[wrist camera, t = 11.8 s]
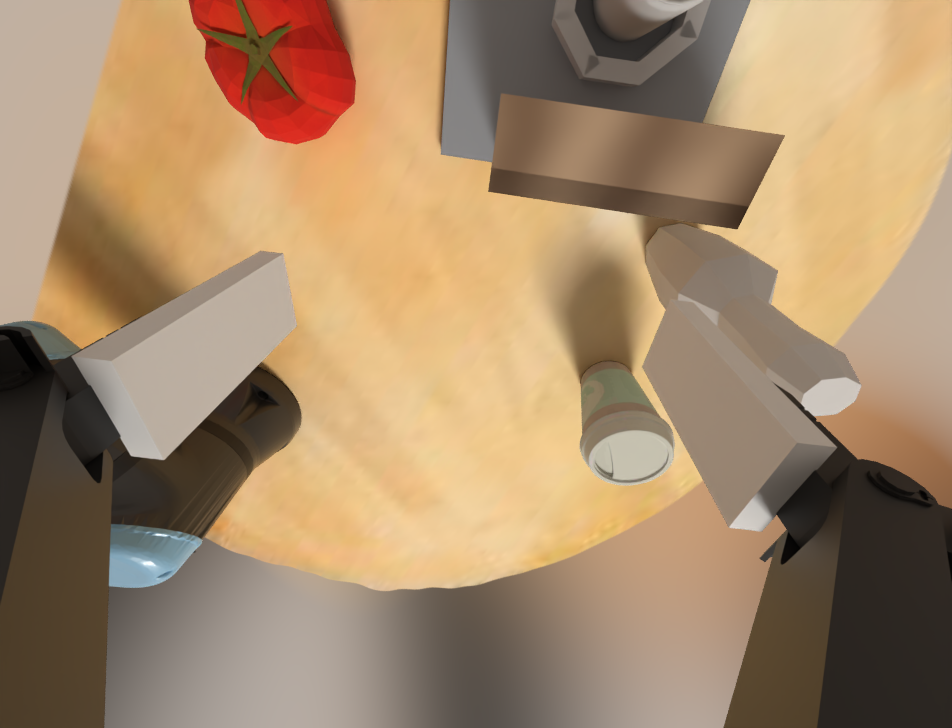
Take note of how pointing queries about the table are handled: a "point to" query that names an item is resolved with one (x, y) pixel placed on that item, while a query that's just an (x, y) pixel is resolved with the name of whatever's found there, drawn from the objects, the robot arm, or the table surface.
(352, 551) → the table surface
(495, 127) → the socket board
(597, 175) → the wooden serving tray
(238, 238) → the table surface
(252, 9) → the tomato
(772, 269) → the low poly bottle
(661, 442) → the coffee cup
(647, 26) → the beverage can
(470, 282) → the table surface
